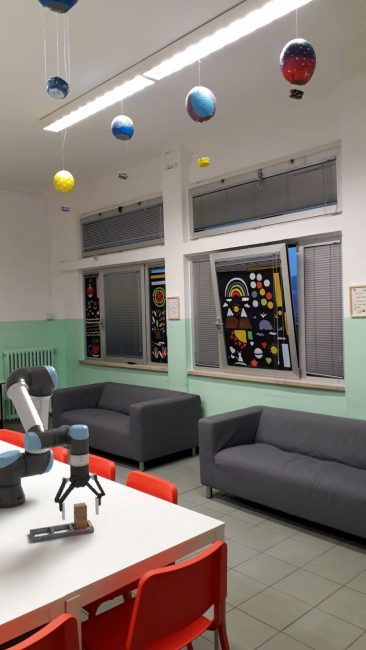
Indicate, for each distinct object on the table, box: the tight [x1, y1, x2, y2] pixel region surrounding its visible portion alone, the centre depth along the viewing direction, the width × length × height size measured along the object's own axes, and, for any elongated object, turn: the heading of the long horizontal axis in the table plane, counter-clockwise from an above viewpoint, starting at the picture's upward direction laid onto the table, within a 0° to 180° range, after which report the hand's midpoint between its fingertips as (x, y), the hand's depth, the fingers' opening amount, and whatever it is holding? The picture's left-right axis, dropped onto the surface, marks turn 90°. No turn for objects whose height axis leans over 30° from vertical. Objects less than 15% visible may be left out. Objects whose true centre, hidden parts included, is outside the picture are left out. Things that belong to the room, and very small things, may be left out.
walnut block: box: [73, 502, 88, 530], centre depth 205 cm, size 4×4×10 cm
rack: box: [29, 519, 95, 543], centre depth 202 cm, size 9×24×2 cm, turn 112°
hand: (80, 516), depth 205 cm, fingers open, 13 cm apart
